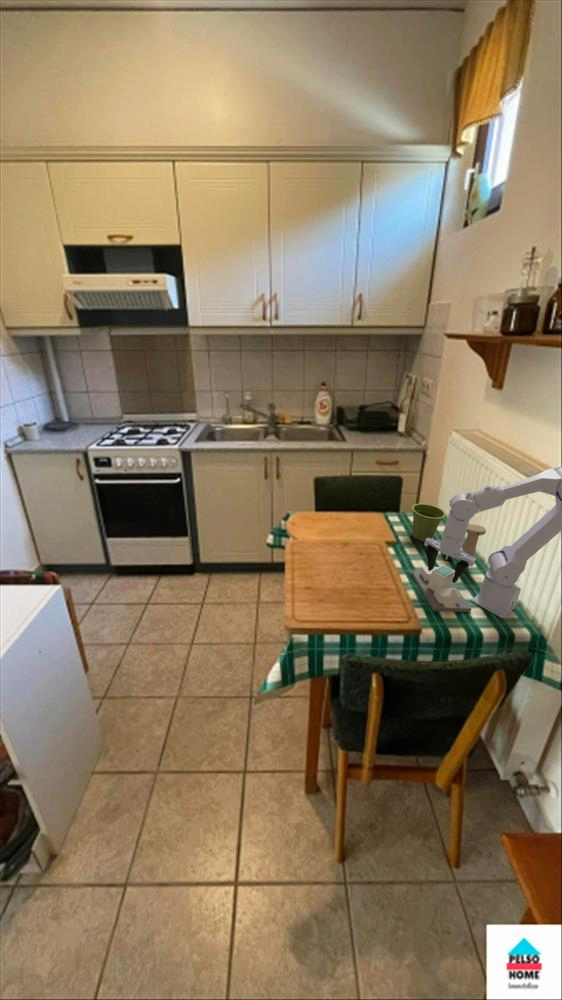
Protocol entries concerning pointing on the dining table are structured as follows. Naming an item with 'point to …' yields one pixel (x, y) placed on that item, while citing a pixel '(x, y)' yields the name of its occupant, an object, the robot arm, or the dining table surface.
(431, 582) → the module
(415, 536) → the plant pot
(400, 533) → the dining table surface
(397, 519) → the dining table surface
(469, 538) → the handle
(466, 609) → the board
